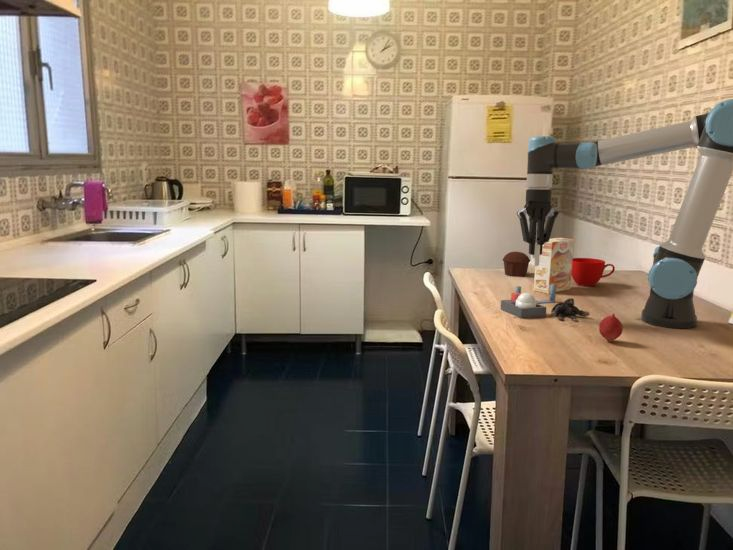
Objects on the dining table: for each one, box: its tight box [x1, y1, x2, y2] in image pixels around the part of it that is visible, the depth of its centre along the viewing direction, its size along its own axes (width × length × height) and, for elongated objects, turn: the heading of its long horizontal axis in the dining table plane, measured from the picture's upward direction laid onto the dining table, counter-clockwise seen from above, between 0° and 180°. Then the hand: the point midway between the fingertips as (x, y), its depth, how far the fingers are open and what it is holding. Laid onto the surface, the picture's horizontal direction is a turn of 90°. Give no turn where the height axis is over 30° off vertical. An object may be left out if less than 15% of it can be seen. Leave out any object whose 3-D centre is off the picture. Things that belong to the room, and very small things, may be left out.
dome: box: [516, 292, 538, 308], centre depth 185 cm, size 6×6×6 cm
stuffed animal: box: [549, 297, 590, 323], centre depth 184 cm, size 12×10×12 cm
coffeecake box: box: [533, 237, 575, 295], centre depth 221 cm, size 15×7×20 cm, turn 129°
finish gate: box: [514, 284, 557, 304], centre depth 201 cm, size 2×16×6 cm, turn 108°
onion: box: [598, 312, 624, 343], centre depth 157 cm, size 6×6×8 cm
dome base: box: [500, 292, 547, 319], centre depth 187 cm, size 12×9×5 cm
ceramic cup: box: [571, 257, 616, 288], centre depth 232 cm, size 13×17×10 cm
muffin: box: [502, 251, 531, 278], centre depth 253 cm, size 12×11×10 cm
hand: (534, 264), depth 182 cm, fingers closed
